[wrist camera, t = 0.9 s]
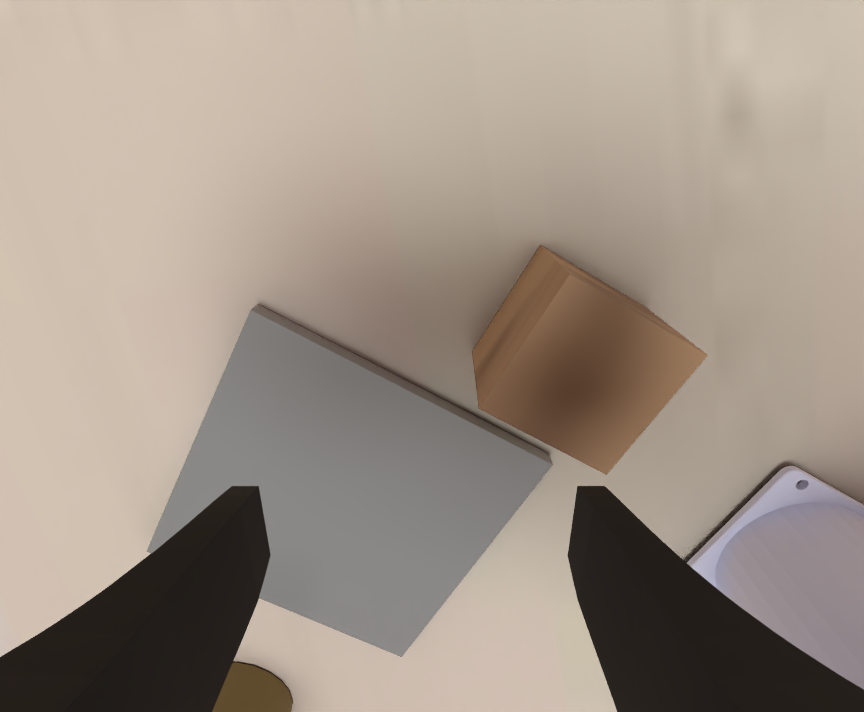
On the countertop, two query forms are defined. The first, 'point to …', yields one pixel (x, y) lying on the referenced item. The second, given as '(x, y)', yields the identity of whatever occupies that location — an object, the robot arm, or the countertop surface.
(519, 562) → the countertop surface
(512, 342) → the walnut cube
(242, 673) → the cork
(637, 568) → the robot arm
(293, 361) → the slate board
